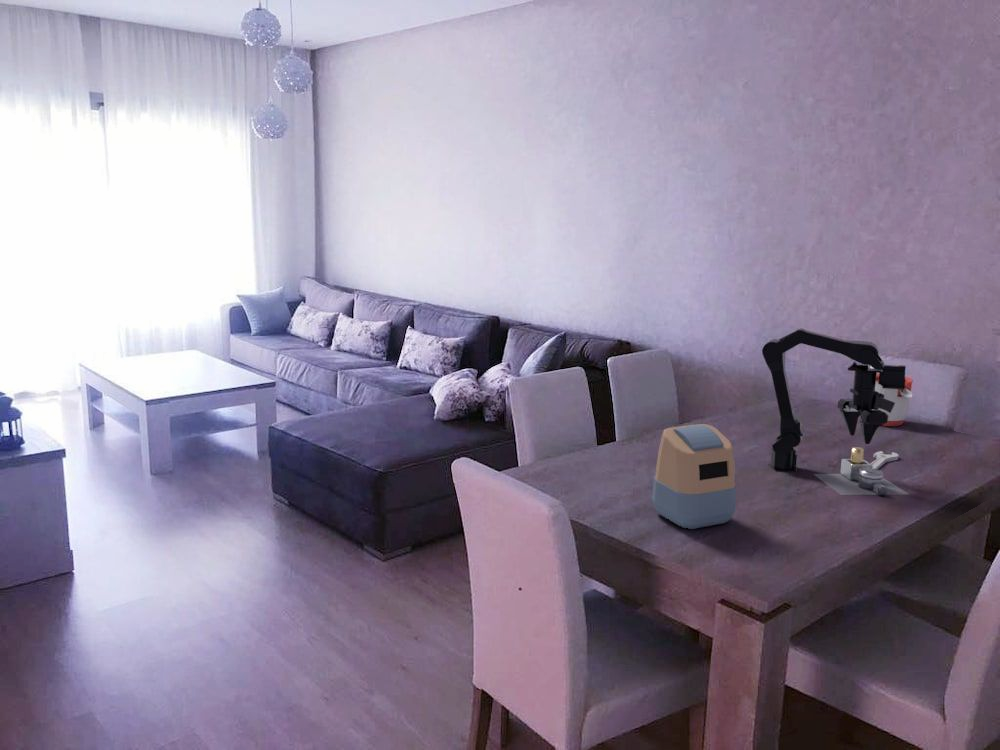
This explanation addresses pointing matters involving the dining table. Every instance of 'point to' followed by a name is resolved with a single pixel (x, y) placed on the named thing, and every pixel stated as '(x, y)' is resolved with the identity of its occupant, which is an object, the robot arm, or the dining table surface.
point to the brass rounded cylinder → (857, 455)
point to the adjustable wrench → (883, 459)
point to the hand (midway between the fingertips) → (859, 439)
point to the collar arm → (853, 474)
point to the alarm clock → (695, 477)
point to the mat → (855, 485)
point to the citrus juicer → (896, 401)
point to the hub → (869, 478)
